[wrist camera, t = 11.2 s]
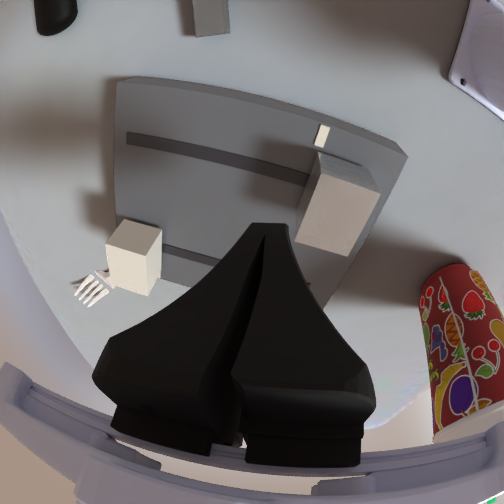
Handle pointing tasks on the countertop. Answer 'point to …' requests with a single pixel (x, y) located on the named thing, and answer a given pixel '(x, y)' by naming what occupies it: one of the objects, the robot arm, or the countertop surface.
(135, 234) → the block
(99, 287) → the fork
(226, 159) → the gray slider board
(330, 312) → the countertop surface
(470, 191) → the countertop surface
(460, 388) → the smoothie
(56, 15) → the gun
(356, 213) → the steel fader
